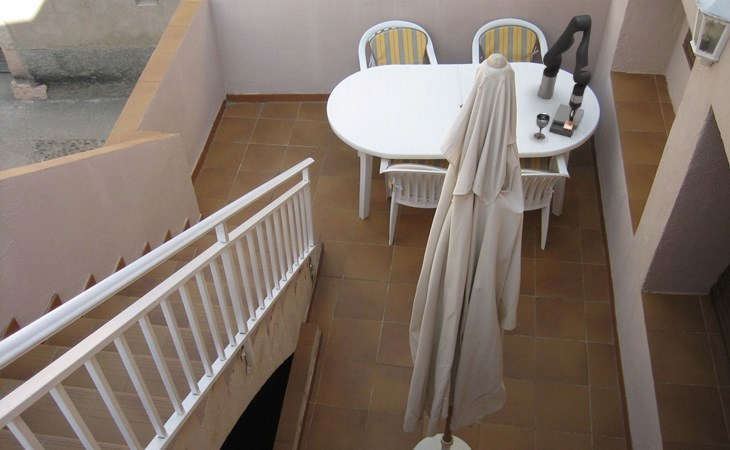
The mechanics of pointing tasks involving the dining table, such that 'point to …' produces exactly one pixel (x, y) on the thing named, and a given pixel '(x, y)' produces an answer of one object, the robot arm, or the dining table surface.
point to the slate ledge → (564, 113)
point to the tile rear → (569, 123)
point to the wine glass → (541, 124)
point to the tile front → (567, 128)
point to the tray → (560, 129)
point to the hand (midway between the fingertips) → (570, 121)
